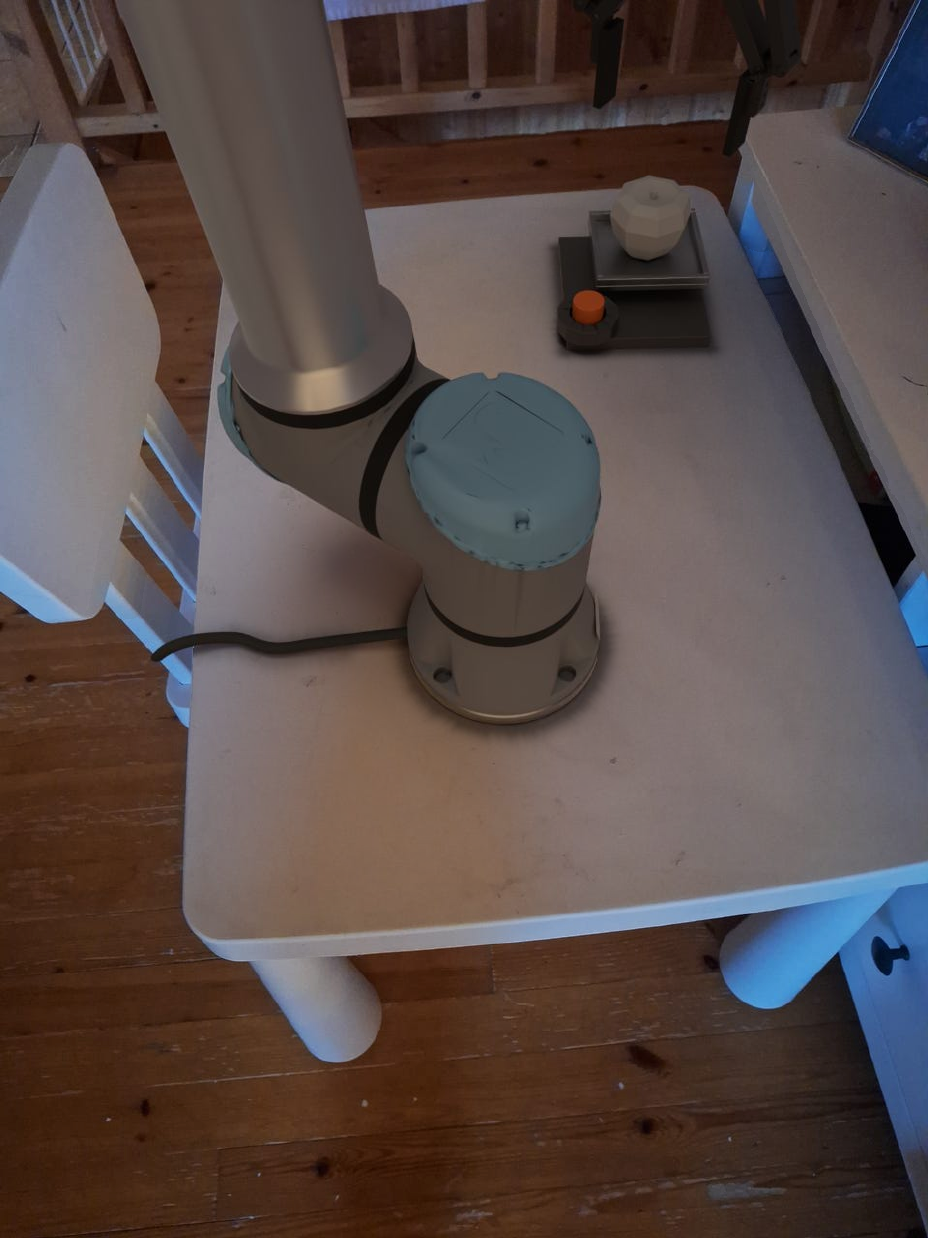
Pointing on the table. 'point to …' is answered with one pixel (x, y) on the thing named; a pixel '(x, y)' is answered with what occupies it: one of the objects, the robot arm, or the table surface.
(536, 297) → the table surface
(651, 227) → the apple
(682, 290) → the scale
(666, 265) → the scale pan
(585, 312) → the tare button
